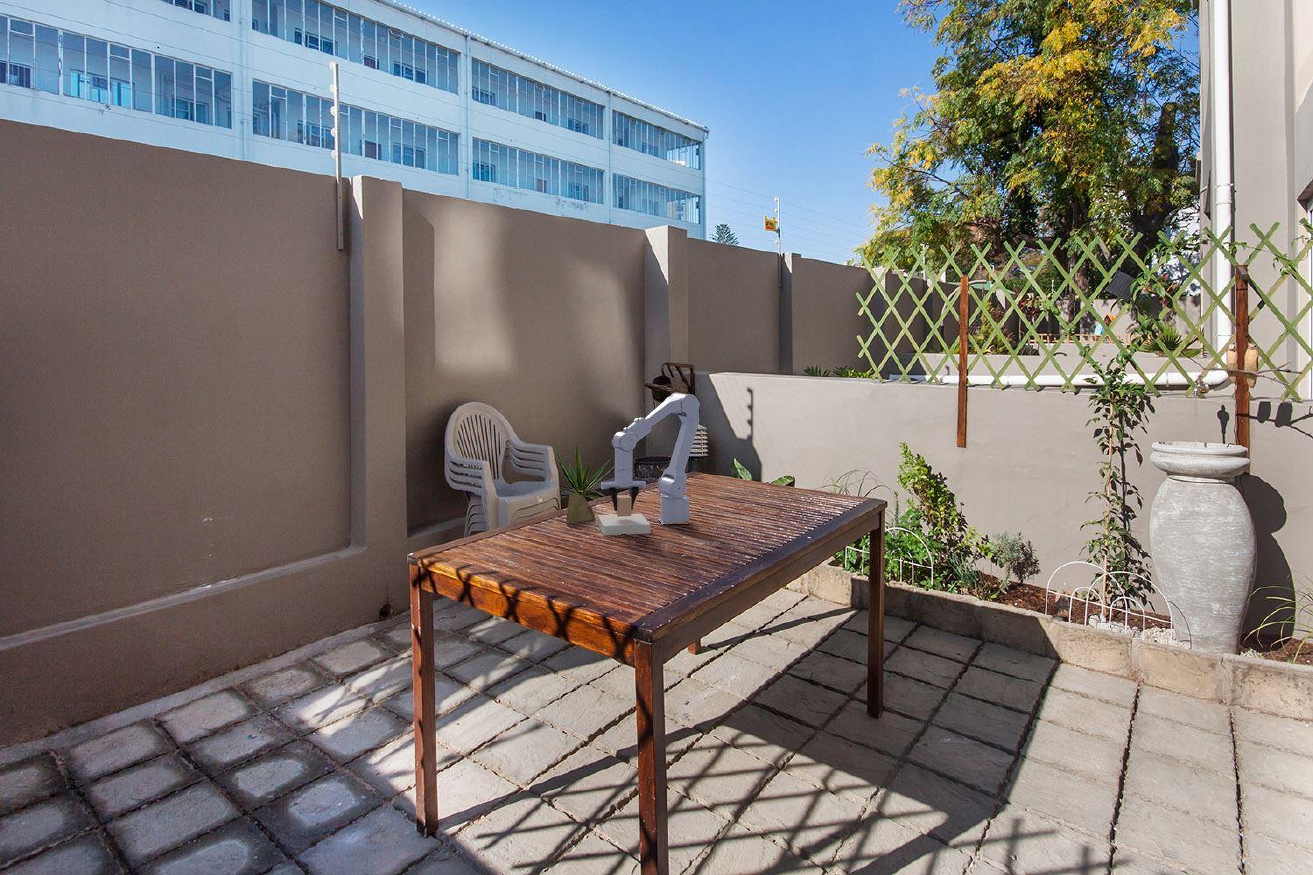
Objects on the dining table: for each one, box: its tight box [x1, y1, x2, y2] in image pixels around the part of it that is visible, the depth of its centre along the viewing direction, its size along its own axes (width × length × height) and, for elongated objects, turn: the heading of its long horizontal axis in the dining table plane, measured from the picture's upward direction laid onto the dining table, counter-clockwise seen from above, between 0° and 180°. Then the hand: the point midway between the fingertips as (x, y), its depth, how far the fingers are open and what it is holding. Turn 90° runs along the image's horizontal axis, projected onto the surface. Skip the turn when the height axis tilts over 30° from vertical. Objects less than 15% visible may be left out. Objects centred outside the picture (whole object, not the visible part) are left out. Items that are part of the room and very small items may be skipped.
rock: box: [565, 492, 596, 525], centre depth 248 cm, size 11×9×10 cm
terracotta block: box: [614, 494, 632, 517], centre depth 238 cm, size 4×4×6 cm
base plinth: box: [596, 513, 651, 536], centre depth 239 cm, size 15×15×3 cm
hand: (623, 509), depth 239 cm, fingers closed on terracotta block, 4 cm apart
